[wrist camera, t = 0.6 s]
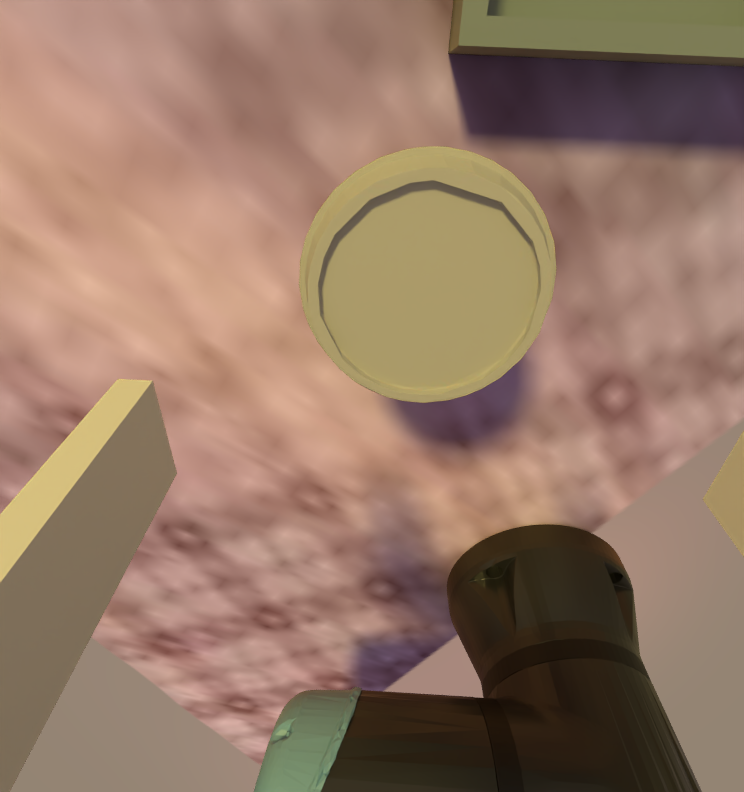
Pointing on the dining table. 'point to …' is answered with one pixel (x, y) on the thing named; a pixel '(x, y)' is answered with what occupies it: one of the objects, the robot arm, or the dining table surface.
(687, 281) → the dining table surface
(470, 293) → the disposable coffee cup
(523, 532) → the robot arm
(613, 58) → the bin
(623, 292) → the dining table surface
